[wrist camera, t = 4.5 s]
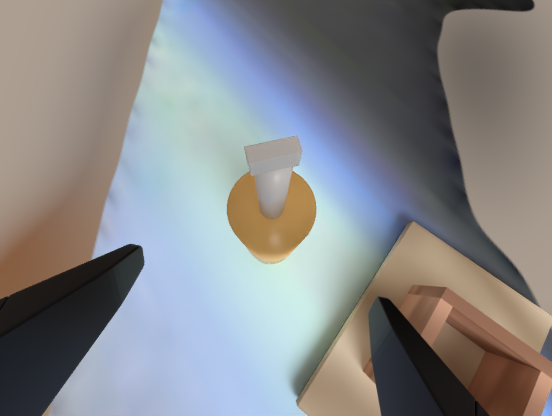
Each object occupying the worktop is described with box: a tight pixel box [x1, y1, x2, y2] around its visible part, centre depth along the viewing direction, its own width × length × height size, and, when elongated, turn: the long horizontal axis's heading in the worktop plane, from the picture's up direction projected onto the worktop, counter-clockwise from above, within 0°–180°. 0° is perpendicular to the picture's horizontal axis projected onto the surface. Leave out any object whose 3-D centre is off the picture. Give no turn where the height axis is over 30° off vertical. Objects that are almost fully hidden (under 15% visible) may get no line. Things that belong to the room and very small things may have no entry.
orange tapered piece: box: [227, 136, 316, 264], centre depth 13 cm, size 4×4×15 cm
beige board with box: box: [296, 221, 552, 416], centre depth 16 cm, size 16×12×4 cm
